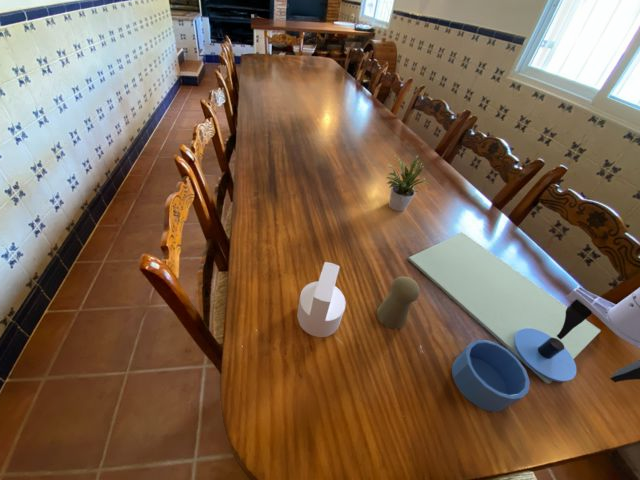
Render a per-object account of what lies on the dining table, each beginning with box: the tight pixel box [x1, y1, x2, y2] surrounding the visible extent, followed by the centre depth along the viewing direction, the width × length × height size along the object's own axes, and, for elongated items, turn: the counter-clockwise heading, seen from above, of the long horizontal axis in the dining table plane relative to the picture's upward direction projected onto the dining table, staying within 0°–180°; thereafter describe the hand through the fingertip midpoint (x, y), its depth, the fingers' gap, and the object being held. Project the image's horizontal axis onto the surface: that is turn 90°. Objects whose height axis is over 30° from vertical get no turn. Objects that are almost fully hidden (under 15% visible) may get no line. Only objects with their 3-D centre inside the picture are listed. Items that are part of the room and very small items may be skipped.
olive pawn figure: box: [376, 275, 420, 330], centre depth 60 cm, size 6×6×11 cm
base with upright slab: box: [296, 261, 347, 338], centre depth 58 cm, size 9×9×12 cm
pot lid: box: [514, 328, 578, 383], centre depth 56 cm, size 10×10×5 cm
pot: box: [451, 339, 531, 413], centre depth 52 cm, size 10×10×6 cm
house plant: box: [385, 153, 431, 212], centre depth 90 cm, size 14×14×16 cm
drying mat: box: [407, 231, 602, 385], centre depth 70 cm, size 34×22×1 cm, turn 30°
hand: (586, 355), depth 48 cm, fingers open, 7 cm apart
